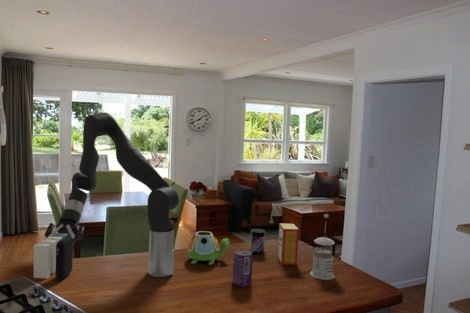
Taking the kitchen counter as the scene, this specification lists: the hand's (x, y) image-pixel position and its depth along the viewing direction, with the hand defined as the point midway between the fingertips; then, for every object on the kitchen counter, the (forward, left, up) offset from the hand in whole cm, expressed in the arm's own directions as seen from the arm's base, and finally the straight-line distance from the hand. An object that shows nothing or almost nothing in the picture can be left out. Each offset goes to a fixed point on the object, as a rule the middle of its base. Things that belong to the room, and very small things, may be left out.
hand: (58, 248), depth 148 cm
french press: (-102, +23, -7) cm, 105 cm away
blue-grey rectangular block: (0, -1, -7) cm, 7 cm away
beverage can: (-68, +27, -7) cm, 73 cm away
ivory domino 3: (+2, +7, -7) cm, 10 cm away
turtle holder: (-59, +1, -7) cm, 60 cm away
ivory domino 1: (+3, +12, -7) cm, 14 cm away
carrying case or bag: (-4, +13, -7) cm, 15 cm away
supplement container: (-84, -6, -7) cm, 85 cm away
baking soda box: (-94, +6, -7) cm, 95 cm away
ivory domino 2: (+1, +3, -7) cm, 7 cm away
